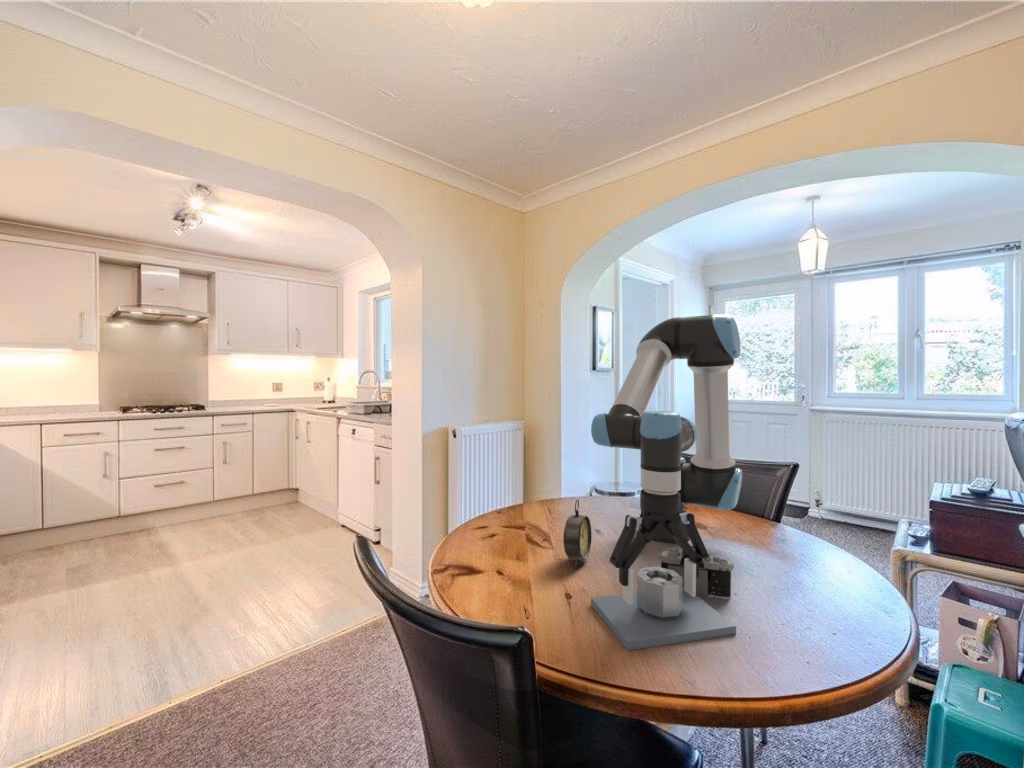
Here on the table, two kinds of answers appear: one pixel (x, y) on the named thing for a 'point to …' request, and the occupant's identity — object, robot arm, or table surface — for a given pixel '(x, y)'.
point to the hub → (659, 592)
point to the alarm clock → (577, 537)
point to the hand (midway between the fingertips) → (659, 597)
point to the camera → (702, 573)
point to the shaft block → (660, 621)
